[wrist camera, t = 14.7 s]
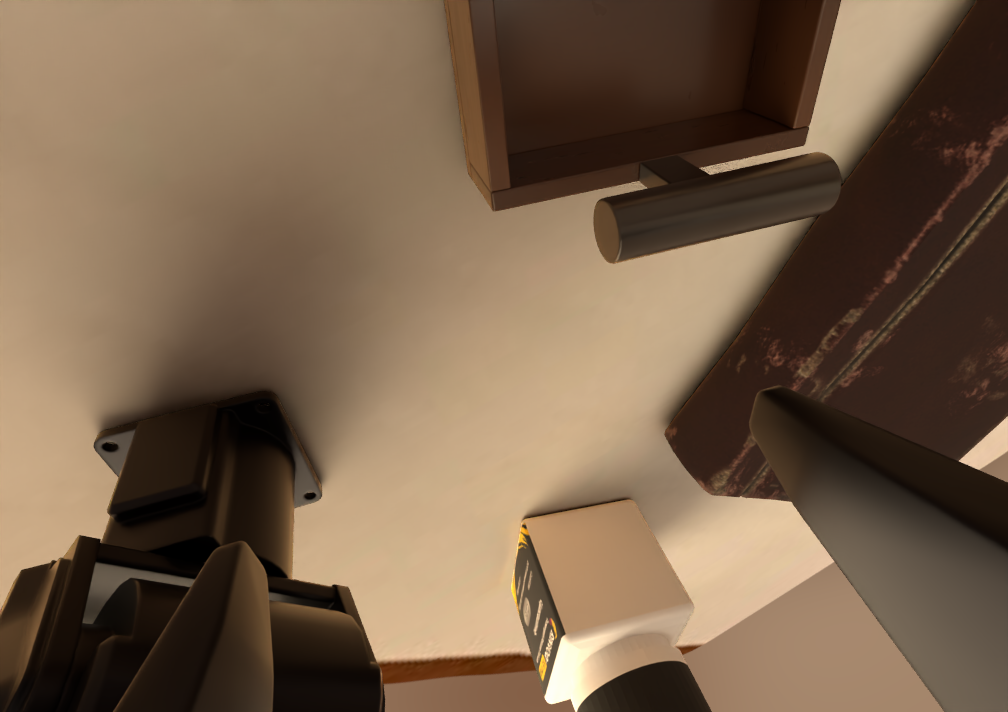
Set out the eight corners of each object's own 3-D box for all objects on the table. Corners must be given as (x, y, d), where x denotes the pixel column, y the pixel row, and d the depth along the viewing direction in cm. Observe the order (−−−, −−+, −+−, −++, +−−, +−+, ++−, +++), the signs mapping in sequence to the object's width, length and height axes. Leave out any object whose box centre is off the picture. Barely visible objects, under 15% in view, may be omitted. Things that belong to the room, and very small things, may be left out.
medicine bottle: (520, 517, 31) (609, 764, 21) (633, 495, 32) (760, 714, 23) (509, 587, 35) (580, 819, 26) (610, 565, 37) (710, 773, 27)
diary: (650, 426, 29) (702, 501, 25) (1054, -158, 17) (1270, -186, 13) (859, 455, 37) (922, 514, 33) (1229, 74, 25) (1394, 98, 21)
